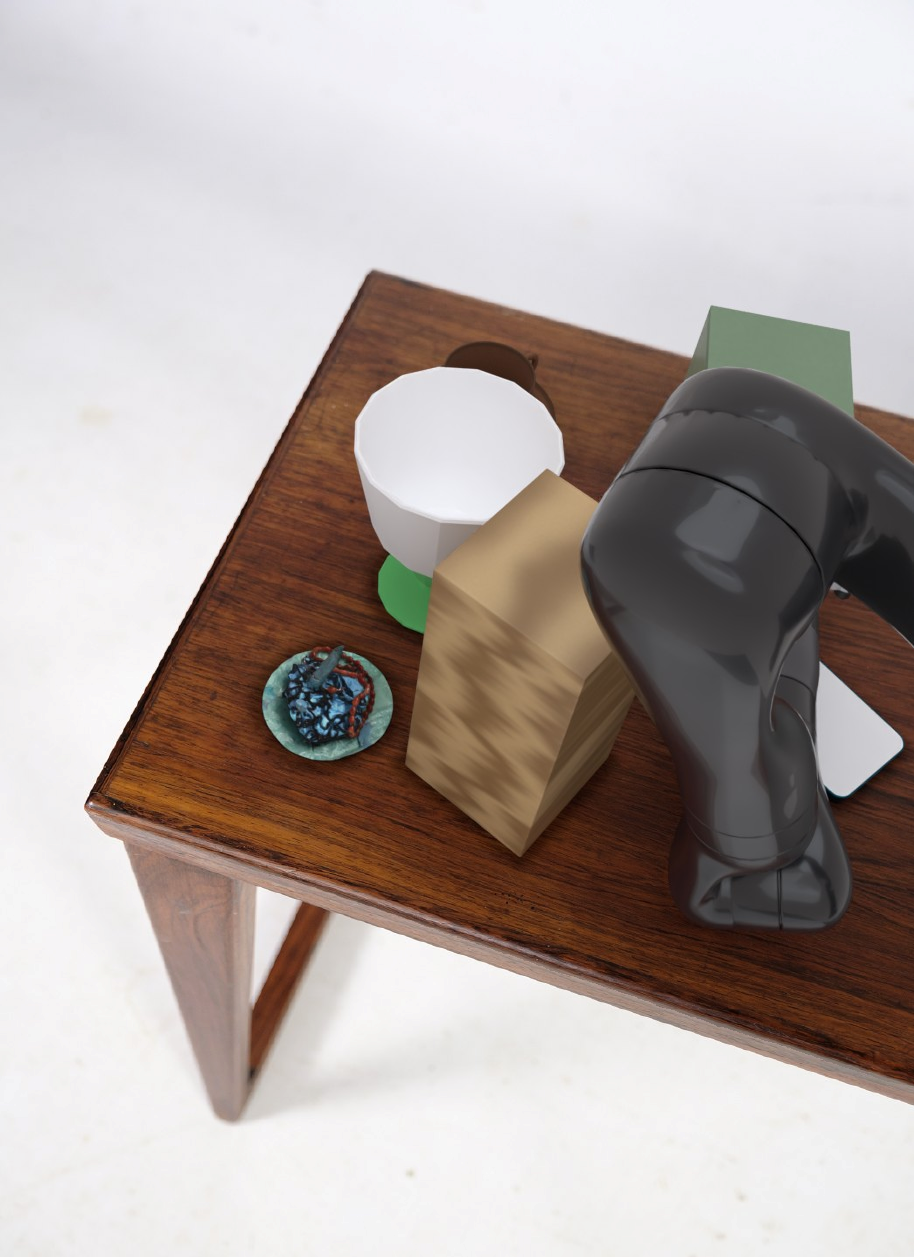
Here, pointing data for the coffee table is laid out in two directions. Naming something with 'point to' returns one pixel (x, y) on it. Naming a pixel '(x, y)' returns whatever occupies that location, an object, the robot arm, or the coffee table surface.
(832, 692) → the smartphone
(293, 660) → the dish
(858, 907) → the coffee table surface
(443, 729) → the stand
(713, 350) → the cabinet
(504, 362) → the cup and saucer
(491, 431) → the cup
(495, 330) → the coffee table surface
